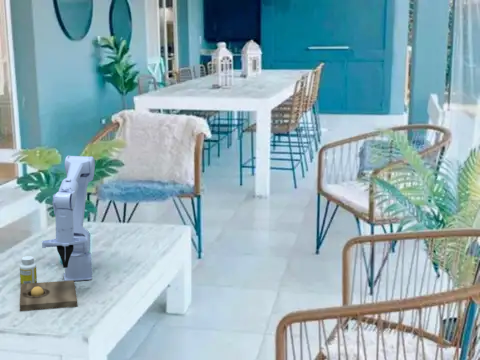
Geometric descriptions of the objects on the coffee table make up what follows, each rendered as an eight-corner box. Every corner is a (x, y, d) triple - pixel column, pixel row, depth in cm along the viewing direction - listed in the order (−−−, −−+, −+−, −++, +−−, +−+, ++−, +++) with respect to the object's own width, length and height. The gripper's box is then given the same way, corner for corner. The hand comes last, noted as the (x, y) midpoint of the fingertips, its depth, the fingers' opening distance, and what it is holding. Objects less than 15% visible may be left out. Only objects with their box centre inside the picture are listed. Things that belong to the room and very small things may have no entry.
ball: (27, 292, 216) (36, 301, 217) (29, 293, 212) (38, 301, 213) (36, 283, 217) (44, 291, 218) (38, 284, 214) (47, 292, 215)
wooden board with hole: (73, 285, 227) (73, 280, 227) (77, 306, 211) (77, 300, 210) (20, 289, 222) (20, 284, 222) (19, 311, 206) (19, 305, 205)
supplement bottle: (31, 280, 230) (30, 254, 228) (39, 284, 227) (39, 257, 225) (17, 284, 226) (16, 257, 224) (26, 288, 223) (25, 261, 221)
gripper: (41, 232, 210) (42, 272, 213) (88, 230, 214) (88, 269, 217) (41, 226, 217) (42, 264, 220) (86, 224, 221) (86, 262, 224)
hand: (65, 266), depth 219 cm, fingers closed
